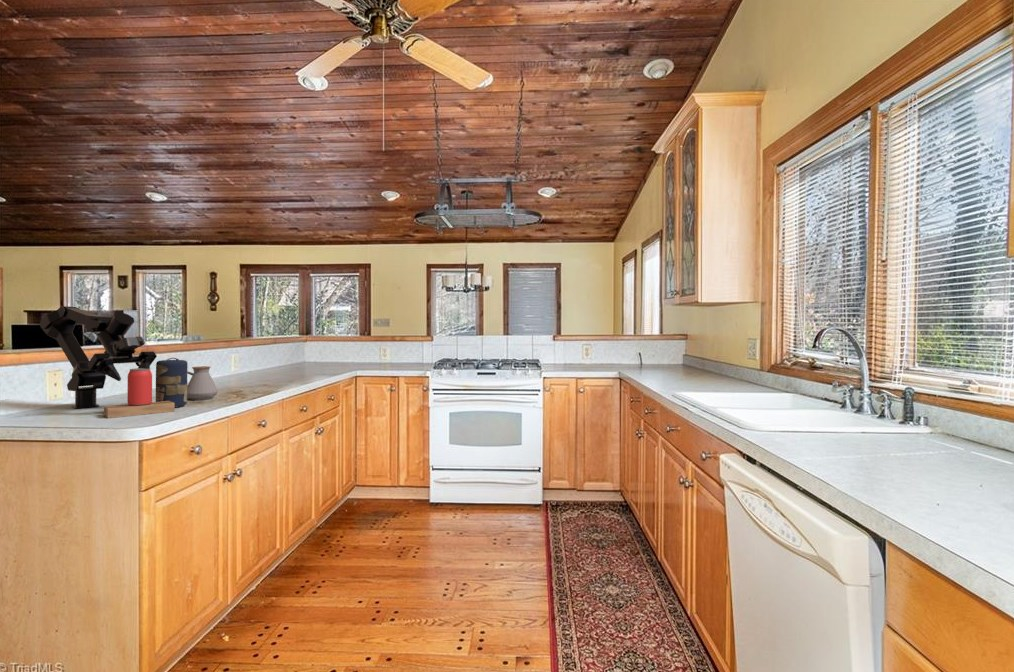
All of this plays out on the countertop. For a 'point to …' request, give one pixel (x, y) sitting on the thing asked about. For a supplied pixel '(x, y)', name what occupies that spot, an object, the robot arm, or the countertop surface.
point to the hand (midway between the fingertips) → (135, 378)
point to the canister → (171, 381)
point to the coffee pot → (201, 384)
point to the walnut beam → (138, 409)
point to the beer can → (139, 387)
